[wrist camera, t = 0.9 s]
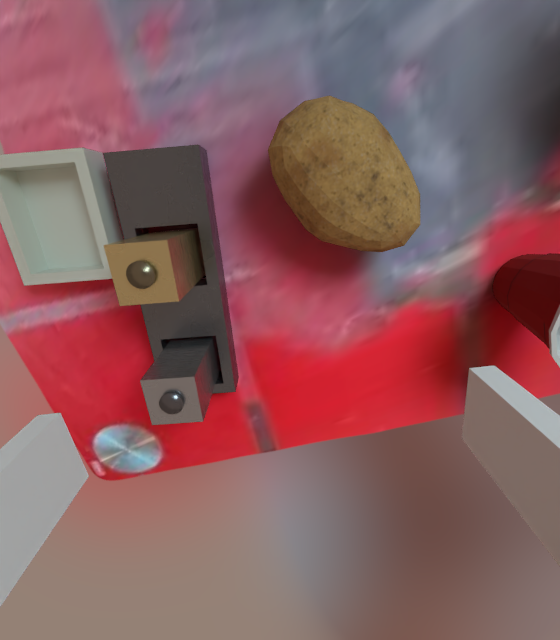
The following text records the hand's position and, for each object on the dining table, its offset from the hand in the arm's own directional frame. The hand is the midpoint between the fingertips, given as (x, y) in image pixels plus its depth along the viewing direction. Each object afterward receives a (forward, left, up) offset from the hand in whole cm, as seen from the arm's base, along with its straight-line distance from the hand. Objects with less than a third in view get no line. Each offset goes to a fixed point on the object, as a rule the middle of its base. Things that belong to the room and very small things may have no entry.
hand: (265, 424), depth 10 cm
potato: (-8, +7, -24) cm, 26 cm away
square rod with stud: (+8, -9, -24) cm, 27 cm away
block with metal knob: (-3, -9, -24) cm, 26 cm away
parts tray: (-7, -19, -24) cm, 31 cm away
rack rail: (0, -9, -24) cm, 26 cm away
